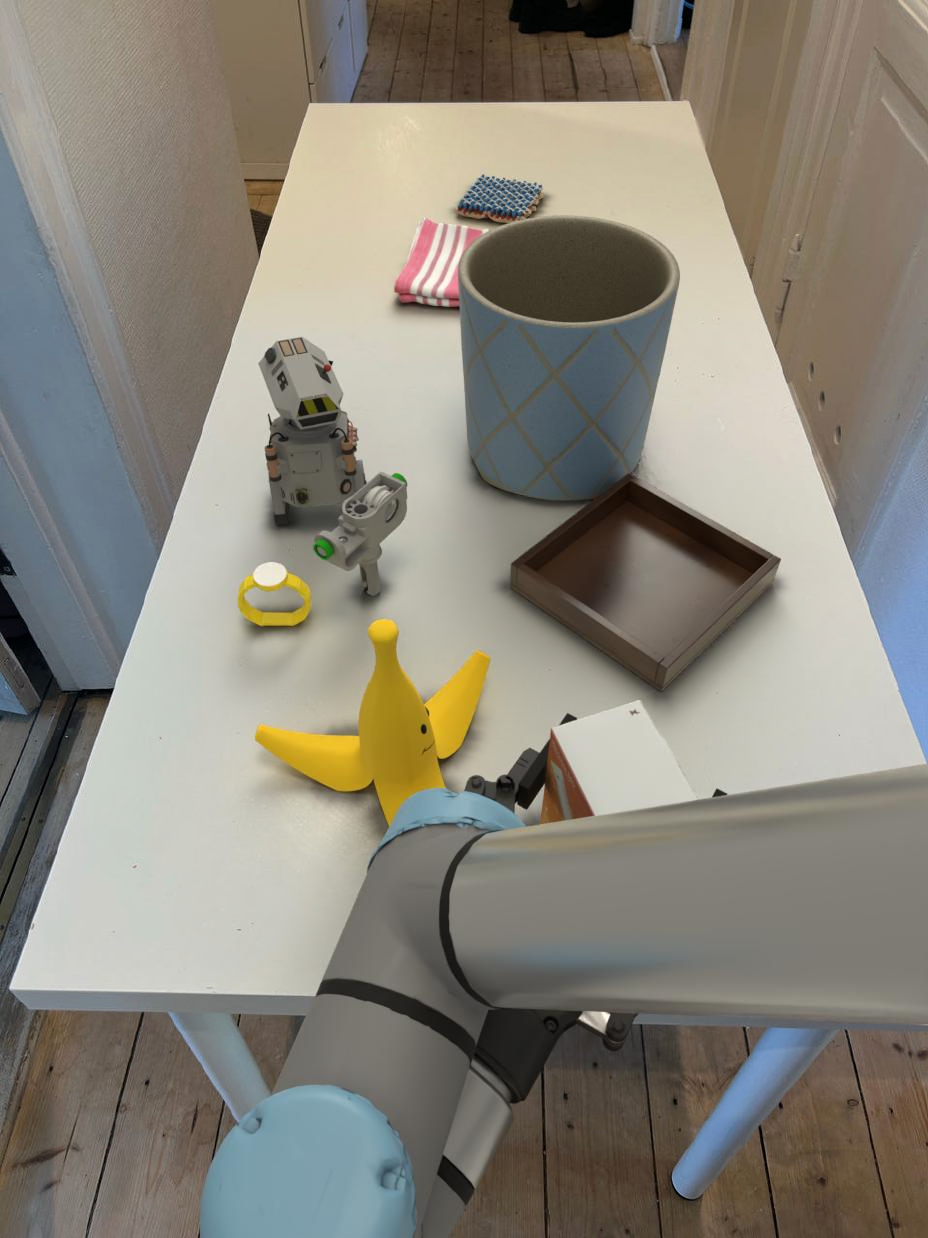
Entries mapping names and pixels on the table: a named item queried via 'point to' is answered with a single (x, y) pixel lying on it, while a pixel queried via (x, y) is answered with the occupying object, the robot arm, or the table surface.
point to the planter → (562, 351)
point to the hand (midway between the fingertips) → (641, 762)
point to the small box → (610, 766)
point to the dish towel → (434, 264)
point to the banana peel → (388, 730)
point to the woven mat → (500, 200)
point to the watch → (271, 580)
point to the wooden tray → (644, 578)
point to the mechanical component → (365, 528)
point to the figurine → (308, 430)
